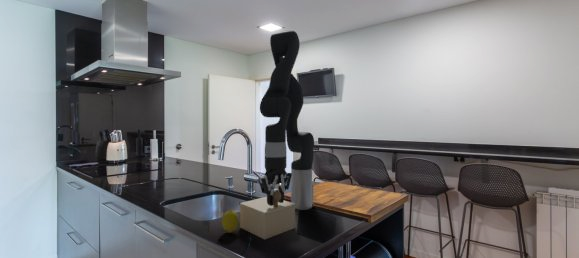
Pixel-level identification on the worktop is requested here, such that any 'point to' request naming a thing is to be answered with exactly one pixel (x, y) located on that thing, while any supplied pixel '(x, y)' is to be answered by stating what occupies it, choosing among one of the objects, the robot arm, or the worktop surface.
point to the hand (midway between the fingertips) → (275, 203)
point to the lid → (263, 207)
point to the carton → (267, 222)
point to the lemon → (230, 221)
